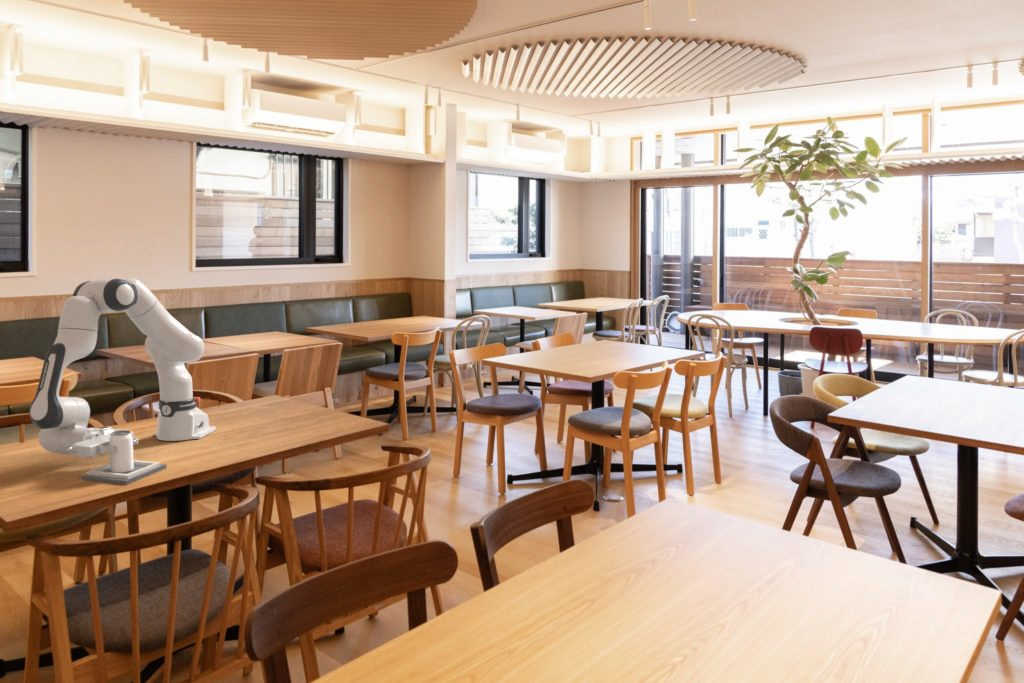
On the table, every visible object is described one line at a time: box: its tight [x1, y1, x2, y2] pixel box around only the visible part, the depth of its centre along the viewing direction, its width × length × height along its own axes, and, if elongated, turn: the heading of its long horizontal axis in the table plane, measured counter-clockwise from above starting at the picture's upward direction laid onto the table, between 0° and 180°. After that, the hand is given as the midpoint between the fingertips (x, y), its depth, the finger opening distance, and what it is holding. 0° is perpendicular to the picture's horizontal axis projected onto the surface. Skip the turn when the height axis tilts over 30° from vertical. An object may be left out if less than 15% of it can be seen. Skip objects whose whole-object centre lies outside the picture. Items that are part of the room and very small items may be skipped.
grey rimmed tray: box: [80, 459, 167, 485], centre depth 246 cm, size 18×16×2 cm
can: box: [109, 429, 135, 473], centre depth 244 cm, size 6×6×12 cm
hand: (126, 445), depth 245 cm, fingers open, 8 cm apart
